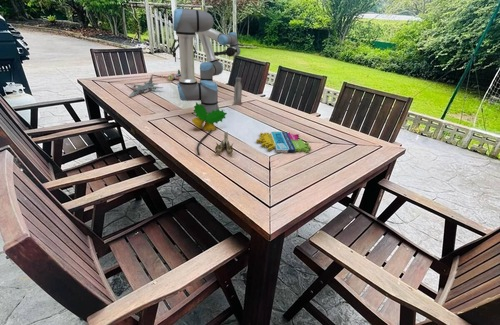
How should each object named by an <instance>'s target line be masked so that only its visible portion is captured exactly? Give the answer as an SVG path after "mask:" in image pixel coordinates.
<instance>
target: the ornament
mask: <svg viewBox="0 0 500 325" xmlns="http://www.w3.org/2000/svg"><path fill="white" fill-rule="evenodd" d="M219 110H220V108H219V109H217V110H216V111H214V110H212V112H211V113H208V112H206V109H204V106H201V103H198V102H196V101H195V105H194V106H193V112H194V113H195V118H192V119H191V122H192V123H193V125H195V127H197V128H198V129H202V130H203V131H206V132H210V130H212V131H213V132H214V131H215V130H216V126H215V124H218V123H219V122H223V119H226V115H227V114H228V113H227V112H224V110H223V109H221V110H220V111H219ZM207 113H208V115H207ZM214 123H215V124H214ZM212 131H211V132H212Z"/></svg>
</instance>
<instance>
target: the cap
mask: <svg viewBox="0 0 500 325" xmlns="http://www.w3.org/2000/svg"><path fill="white" fill-rule="evenodd" d="M236 81H237V82H241V83H242V77H238V76H237V77H235V82H236Z"/></svg>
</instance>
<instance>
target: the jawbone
mask: <svg viewBox="0 0 500 325" xmlns="http://www.w3.org/2000/svg"><path fill="white" fill-rule="evenodd" d="M223 135H224V136H223V140H222V139H221V142H220V144H218V142H215V144H216V146H215V148H214V149H215V152H214V154H215V155H217V156H218V155H220V153H221V152H223V151H224V150H226V152H227V153H228V155H229V156H233V155H234V154H233V153H234V148H233V144H234V143H230V140H228V139H229V138H228V137H229V136H228V135H229V133H228V131H226V132H224V134H223Z"/></svg>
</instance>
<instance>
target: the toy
mask: <svg viewBox="0 0 500 325" xmlns="http://www.w3.org/2000/svg"><path fill="white" fill-rule="evenodd" d="M160 76H161V77H160V78H164V77H165V79H166V80H167V81H170V82H171V81H173V80H174V79H178V80H180V79H181V69H178V70H177V73H171V74H169V75H163V74H161V75H160Z"/></svg>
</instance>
